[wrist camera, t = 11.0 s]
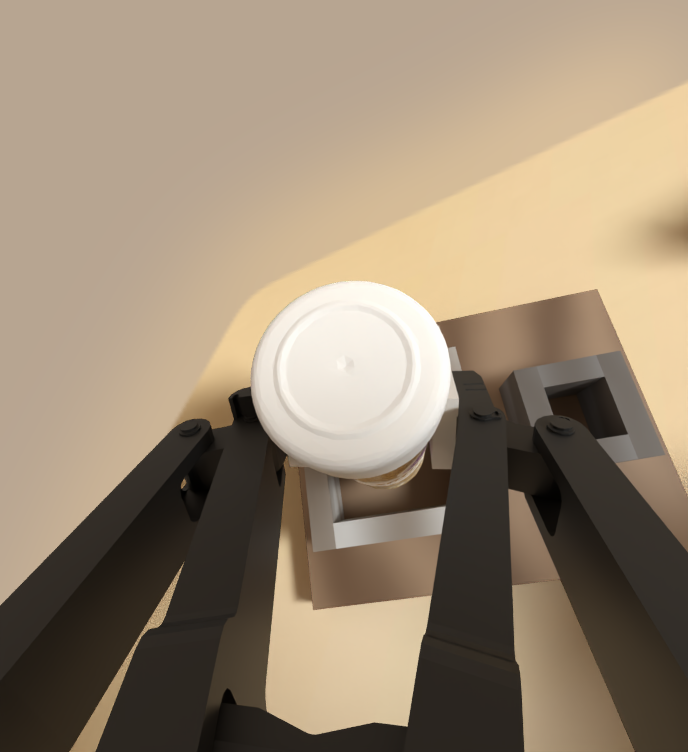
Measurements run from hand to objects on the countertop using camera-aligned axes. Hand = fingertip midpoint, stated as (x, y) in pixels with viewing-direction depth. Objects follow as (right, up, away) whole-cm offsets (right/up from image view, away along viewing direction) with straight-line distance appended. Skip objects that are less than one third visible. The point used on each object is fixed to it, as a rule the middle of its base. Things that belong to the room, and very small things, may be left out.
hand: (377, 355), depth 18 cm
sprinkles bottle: (+1, -5, +3) cm, 6 cm away
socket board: (+6, -5, +6) cm, 10 cm away
